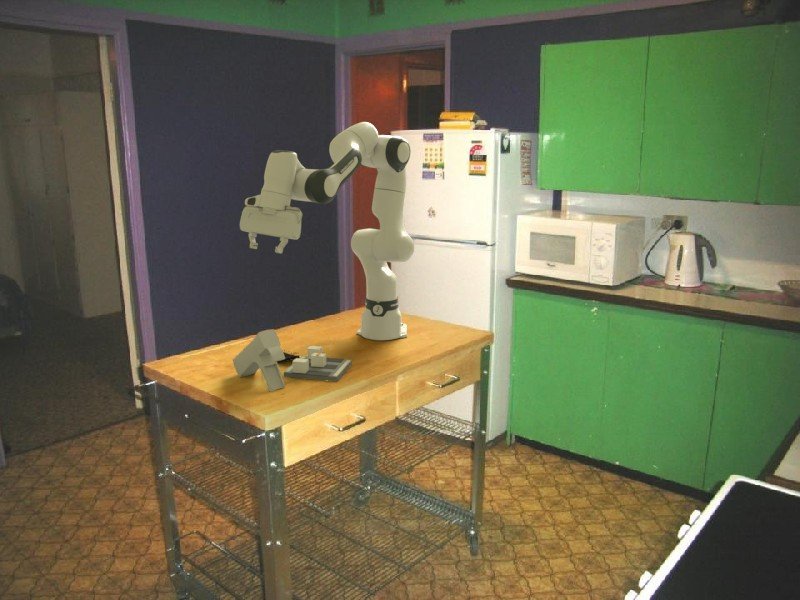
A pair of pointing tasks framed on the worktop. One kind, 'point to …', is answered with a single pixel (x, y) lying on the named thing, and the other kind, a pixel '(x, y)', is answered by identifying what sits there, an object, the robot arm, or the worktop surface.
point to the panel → (322, 370)
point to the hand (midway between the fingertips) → (265, 250)
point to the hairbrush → (288, 357)
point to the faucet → (262, 359)
